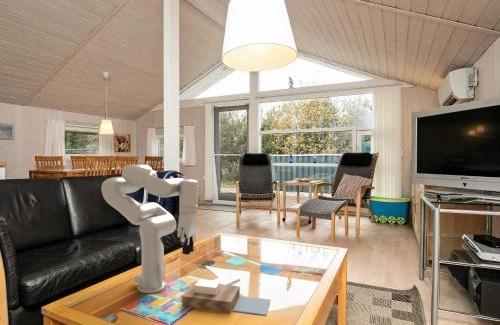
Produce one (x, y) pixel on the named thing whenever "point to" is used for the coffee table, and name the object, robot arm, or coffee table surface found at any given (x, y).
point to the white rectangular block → (207, 287)
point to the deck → (212, 298)
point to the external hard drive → (227, 279)
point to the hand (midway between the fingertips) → (187, 252)
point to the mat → (252, 305)
